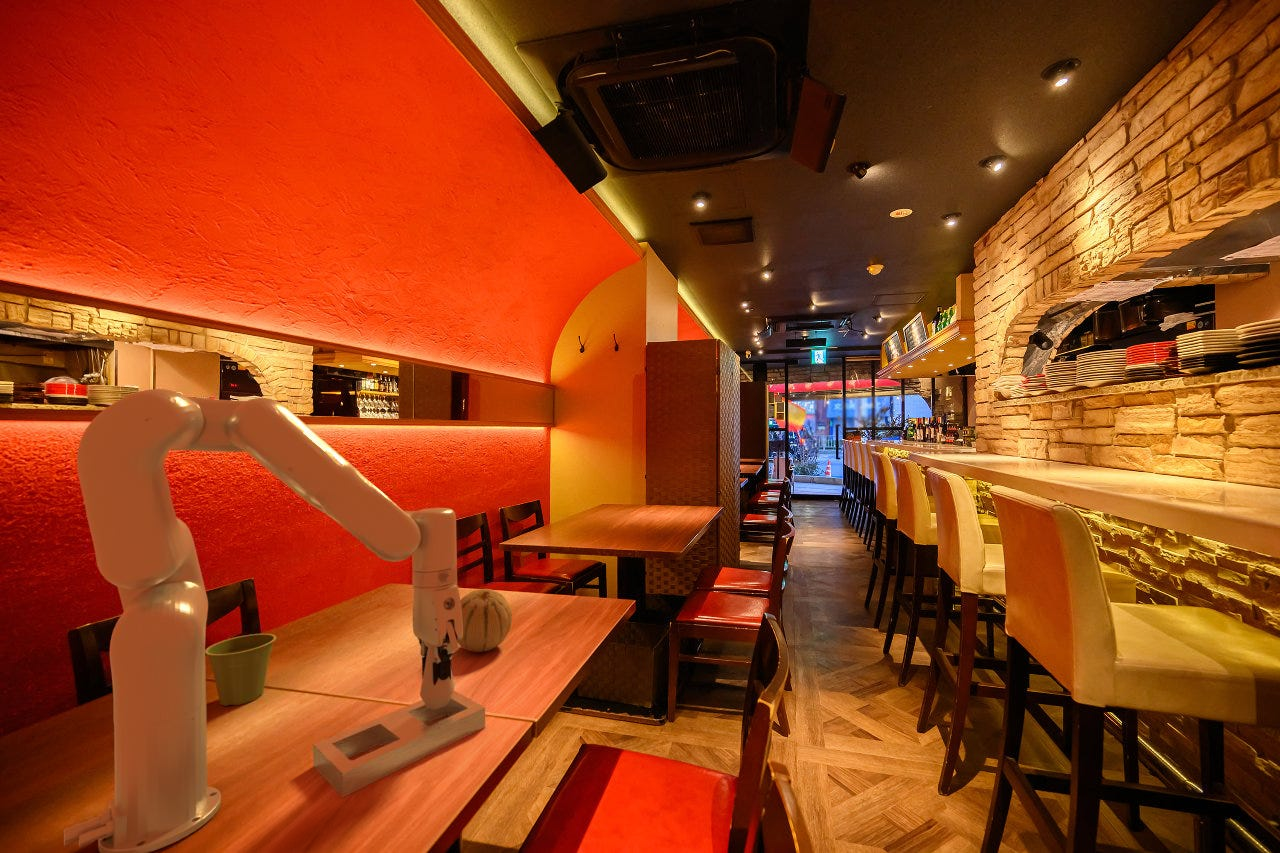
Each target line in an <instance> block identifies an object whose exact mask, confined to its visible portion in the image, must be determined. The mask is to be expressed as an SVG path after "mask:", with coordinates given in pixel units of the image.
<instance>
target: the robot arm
mask: <svg viewBox="0 0 1280 853" xmlns="http://www.w3.org/2000/svg"><path fill="white" fill-rule="evenodd" d="M170 451H191V452H193V451H194V452H220V453H221V452H222V453H223V452H224V453H225V452H227V453H228V452H229V453H230V452H231V453H243V452H244V453H246V454H248V455H249V456H250V457H252V458H253V459H254V460H255V461H256V462H257V463H259V464H260V465H261V466H262V467H263V468H265V469H266V470H267V471H269V472H270V473H271V474H272V475H273V476H275V477H276V478H277V479H278V480H280V482H282V483H283V484H284V485H286V486H287V487H288V488H289V489H291V490H292V491H293V492H294V493H295V494H297V496H299V497H300V498H302V499H303V500H304V501H305V502H307V503H308V504H309V506H312V507H313V508H315V509H317V510H318V511H320V512H322V513H324V514H325V515H327V516H328V517H330V518H331V519H332V520H334V521H335V522H336V523H337V524H339V525H340V526H341V527H343V529H345V530H346V531H347V532H349V533H350V534H351V535H352V536H354V538H356V539H357V540H359V541H360V542H361V543H362V544H363V545H365V547H366V548H367V549H368V550H369V551H371V552H373V553H374V554H375V555H376V556H377V557H378V558H379V559H381V560H384V561H387V562H393V563H394V562H401V561H405V560H406V559H408V558H410V557H412V558H411V559H412V560H411V562H412V564H411V566H412V571H411V572H412V590H413V598H412V600H413V601H412V631H413V634H414V636H415V637H416V638H417V640H418V643H419V645H420V656H421V672H422V673H421V675H422V676H421V678H422V679H423V674H424V669H425V663H426V656H427V650H428V647H427V646H425V644H424V641H426V642H428V643H430V644H432V645H434V656H435V662H434V663H433V684H434V685H435V684H436V683H437V681H438V678H439V679H441V680H446V679H447V678H448V677H450V680H451V671H452V659H453V655H454V653H455V652H457V651H459V645H458V643H457V640H461V639H462V637H463V623H462V609H461V601H460V600H461V597H460V590H459V586H458V566H457V565H458V564H457V563H458V557H457V556H458V555H457V553H458V552H457V517H456V512H455V511H454V510H453V509H452V508H448V507H431V508H422V509H420V510H403V509H402V508H401V507H400V506H399V505H397V504H396V503H395V502H394V501H393V500H391V498H389V496H387V495H386V494H385V493H384V492H383V491H381V490H380V489H379V488H378V487H377V486H375V485H374V484H373V483H372V482H370V480H368V478H367V477H365V476H364V475H363V473H361V472H360V471H359V470H358V469H357V468H356V467H355V466H353V464H352V463H350V462H349V461H348V460H347V459H346V458H344V456H342V455H341V454H340V453H339V452H337V451H336V450H335V449H334V448H333V447H332V446H331V445H330V444H329V443H328V442H327V441H325V440H324V439H323V438H322V437H321V436H320V435H318V434H317V433H316V432H315V431H314V430H313V429H312V428H311V427H309V426H308V425H307V424H306V423H305V422H304V421H302V419H300V418H299V417H298V416H297V415H296V414H295V413H294V412H292V411H291V409H289V408H288V407H287V406H286V405H284V404H282V403H281V402H279V401H277V400H275V399H272V398H267V397H257V398H251V399H249V400H231V399H230V400H229V399H217V398H216V399H215V398H204V397H193V396H186V395H184V394H182V393H180V392H177V391H174V390H172V389H170V390H169V389H165V388H164V389H163V388H153V389H145V390H141V391H138V392H137V391H136V392H134V393H132V394H129V395H127V396H125V397H122V398H120V399H119V400H117V401H115V402H114V403H111V404H110V405H109V406H107V407H106V408H105V409H103V410H102V411H101V412H100V413H98V414H97V415H96V416H95V417H94V418H93V419H92V421H91V422H90V423H89V424H88V426H87V427H86V428H85V430H84V432H83V434H82V436H81V437H80V441H79V444H78V448H77V456H76V466H77V475H78V480H79V484H80V485H79V486H80V489H81V493H82V498H83V502H84V507H85V512H86V513H85V514H86V518H87V522H88V526H89V531H90V535H91V539H92V543H93V547H94V553H95V559H96V565H97V568H98V571H99V573H100V574H101V575H102V576H103V578H104V579H105V580H106V581H107V582H108V583H110V584H112V585H114V586H115V587H117V591H118V593H119V598H120V601H121V606H122V609H123V613H122V614H121V615H120V617H119V618H118V620H117V622H116V623H115V626H114V628H113V630H112V634H111V639H110V643H109V662H110V670H111V680H112V695H113V698H112V699H113V725H114V728H113V730H114V731H113V732H114V733H113V738H114V740H113V741H114V744H113V746H114V749H113V750H114V753H113V754H114V756H113V757H114V799H112V800H110V801H108V802H109V803H108V804H109V806H108V808H107V809H106V810H103V811H101V812H99V813H98V816H96V817H94V818H91V819H89V820H86V821H81V822H79V823H76V824H73V825H70V826H68V827H66V828H64V829H63V846H64V847H66V846H68V845H70V844H73V843H75V842H77V841H78V847H79V848H82V847H84V846H87V845H89V844H92V843H94V842H95V841H97V840H98V841H97V849H98V852H99V853H151V852H154V851H156V850H160V849H163V848H165V847H167V846H169V845H171V844H174V843H176V842H178V841H180V840H182V839H184V838H186V837H188V836H190V835H191V834H192V833H195V832H196V831H197V830H198V829H200V828H201V827H202V826H204V825H205V824H207V823H208V822H209V821H210V820H211V819H212V818H213V817H214V816H215V814H216V813H217V812H218V810H219V809H220V806H221V803H222V794H221V792H220V791H219V789H217V788H215V787H213V786H208V754H207V751H208V750H207V749H208V748H207V747H208V745H207V743H208V742H207V739H208V738H207V736H208V735H207V734H208V733H207V732H208V731H207V683H206V682H207V680H206V678H207V677H206V676H207V675H206V673H207V672H206V669H207V668H206V654H205V650H206V631H207V630H206V628H207V622H208V621H207V620H208V612H209V601H208V600H209V599H208V595H207V591H206V587H205V583H204V579H203V574H202V571H201V567H200V563H199V558H198V554H197V549H196V546H195V541H194V537H193V535H192V532H191V531H190V528H189V527H188V526H187V524H186V523H185V522H184V521H183V520H181V519H180V518H178V517H177V515H176V511H175V509H174V508H175V507H174V504H173V500H172V495H171V488H170V484H169V481H168V478H167V475H166V470H165V462H166V458H167V455H168V453H169V452H170ZM444 639H446V641H445V642H443V640H444ZM444 646H446V648H445V649H443V650H442V651H441V653H440V648H441V647H444Z"/></svg>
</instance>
